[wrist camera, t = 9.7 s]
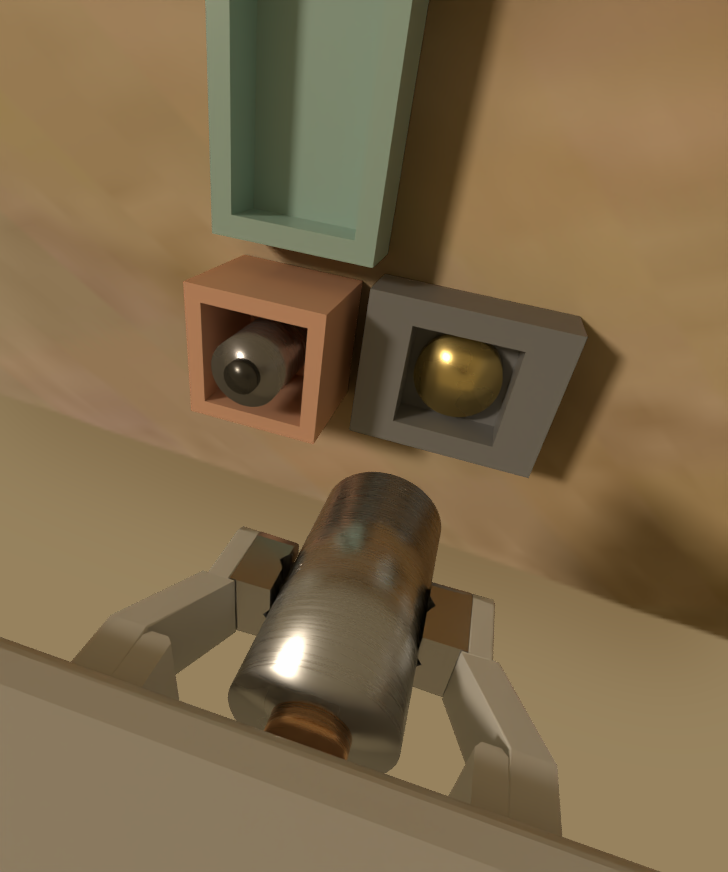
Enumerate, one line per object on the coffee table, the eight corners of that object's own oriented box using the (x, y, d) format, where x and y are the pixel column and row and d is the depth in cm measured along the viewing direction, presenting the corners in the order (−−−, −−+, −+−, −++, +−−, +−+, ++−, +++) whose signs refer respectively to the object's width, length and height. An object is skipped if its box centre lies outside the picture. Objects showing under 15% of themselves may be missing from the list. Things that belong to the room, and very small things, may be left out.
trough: (454, -156, 17) (443, -209, 14) (387, 254, 25) (372, 267, 22) (244, -175, 18) (198, -227, 16) (242, 223, 26) (212, 233, 23)
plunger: (514, 342, 25) (514, 347, 24) (488, 419, 27) (488, 426, 26) (425, 321, 25) (423, 326, 25) (408, 398, 28) (406, 405, 27)
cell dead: (324, 309, 26) (275, 353, 21) (318, 366, 28) (272, 419, 23) (266, 295, 27) (204, 335, 21) (264, 352, 29) (206, 401, 23)
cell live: (453, 490, 13) (411, 740, 8) (428, 576, 15) (379, 827, 9) (331, 458, 13) (210, 671, 8) (321, 546, 15) (218, 766, 10)
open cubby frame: (362, 280, 26) (326, 315, 21) (347, 392, 30) (313, 444, 25) (244, 254, 27) (183, 281, 22) (243, 366, 31) (191, 410, 26)
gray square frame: (580, 316, 24) (587, 337, 22) (527, 448, 28) (528, 477, 26) (384, 273, 25) (370, 288, 23) (363, 405, 30) (349, 430, 27)
